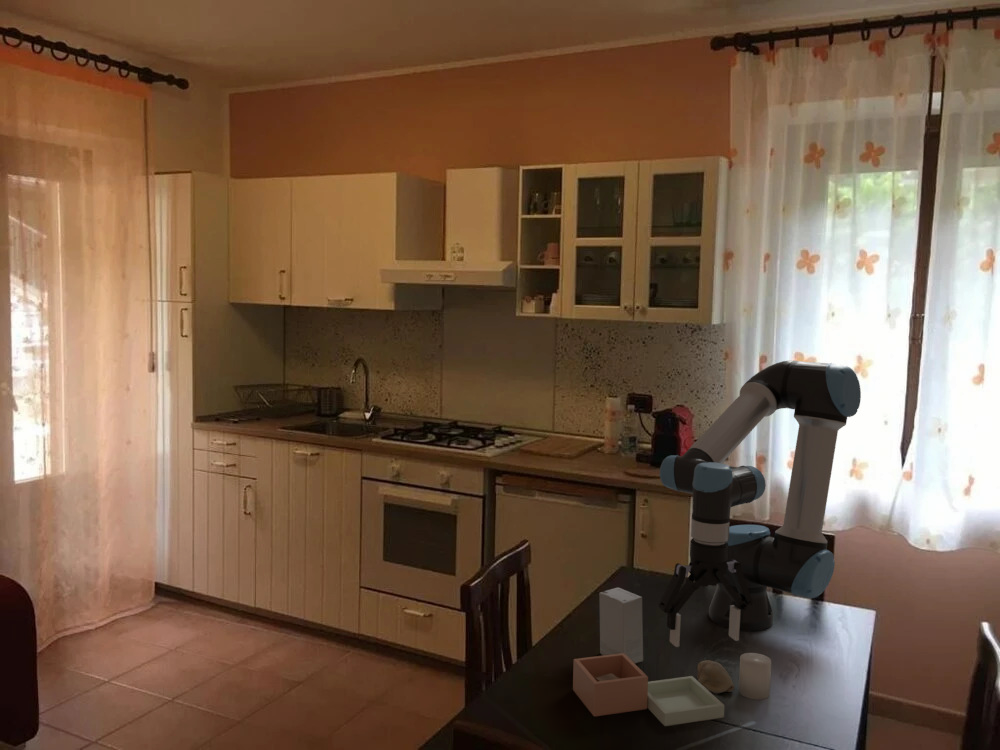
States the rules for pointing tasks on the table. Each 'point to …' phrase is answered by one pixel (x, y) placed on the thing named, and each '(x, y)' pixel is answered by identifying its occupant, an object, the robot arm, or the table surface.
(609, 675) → the walnut block
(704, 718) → the green dish
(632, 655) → the skincare box
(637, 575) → the table surface
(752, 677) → the beige rounded capsule
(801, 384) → the robot arm
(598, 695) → the pink open box
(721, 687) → the stone
